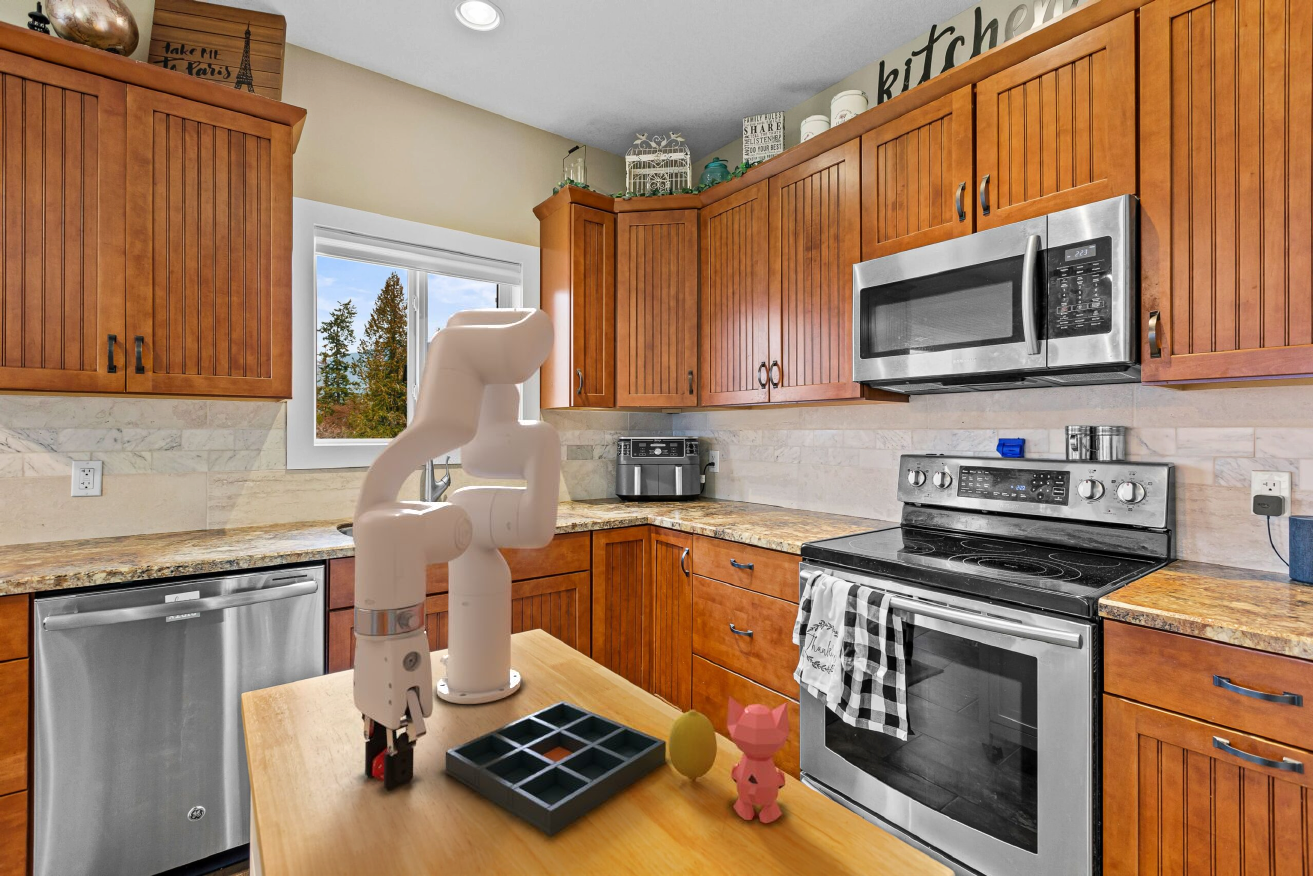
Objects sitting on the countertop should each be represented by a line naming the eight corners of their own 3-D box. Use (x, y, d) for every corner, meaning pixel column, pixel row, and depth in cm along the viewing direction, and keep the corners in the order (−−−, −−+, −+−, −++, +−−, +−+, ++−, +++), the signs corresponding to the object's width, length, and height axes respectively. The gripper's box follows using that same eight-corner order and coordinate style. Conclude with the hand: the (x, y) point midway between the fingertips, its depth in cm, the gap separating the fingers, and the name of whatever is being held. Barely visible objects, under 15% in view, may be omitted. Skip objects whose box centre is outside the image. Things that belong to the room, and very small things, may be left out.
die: (358, 775, 69) (379, 748, 69) (376, 759, 72) (395, 733, 72) (382, 796, 69) (403, 769, 68) (399, 780, 72) (418, 754, 72)
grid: (445, 772, 72) (445, 751, 72) (562, 718, 86) (562, 700, 86) (550, 837, 60) (550, 811, 60) (665, 761, 75) (666, 741, 75)
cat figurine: (792, 800, 67) (793, 689, 67) (790, 840, 60) (791, 717, 60) (727, 791, 68) (728, 683, 69) (718, 828, 62) (719, 708, 62)
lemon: (713, 796, 67) (714, 723, 67) (664, 790, 68) (664, 718, 69) (718, 770, 73) (719, 702, 73) (672, 764, 74) (673, 698, 74)
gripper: (460, 624, 68) (459, 790, 68) (386, 599, 79) (384, 743, 79) (396, 641, 62) (394, 822, 62) (324, 612, 73) (323, 767, 73)
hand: (389, 776), depth 70 cm, fingers closed on die, 3 cm apart
